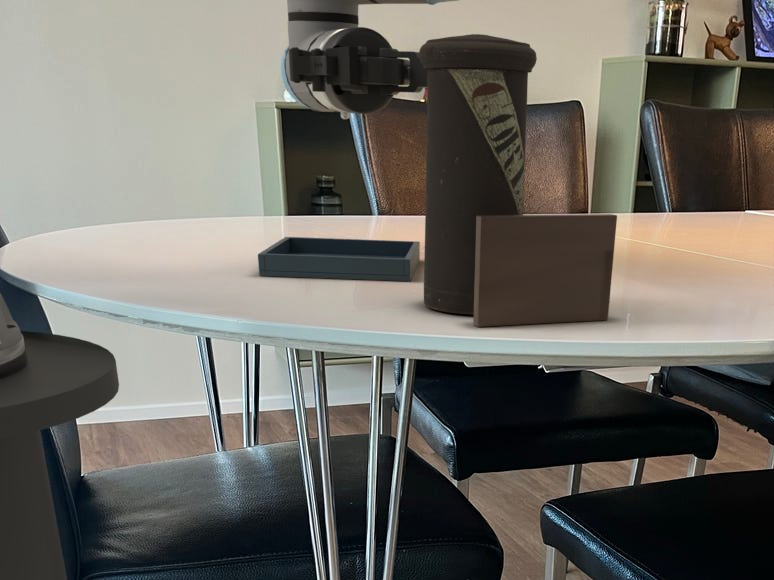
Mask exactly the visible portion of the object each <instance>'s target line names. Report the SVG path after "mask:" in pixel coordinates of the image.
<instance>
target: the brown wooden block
mask: <svg viewBox="0 0 774 580" xmlns="http://www.w3.org/2000/svg"><path fill="white" fill-rule="evenodd" d="M617 221H618V215H617V214H613V213H589V214H588V213H580V214H579V213H578V214H577V213H576V214H573V213H572V214H569V213H567V214H565V213H564V214H523V215H477V216H476V249H475V284H474V315H473V320H472V321H473V322H472V323H473V324H472V325H473V326H476V327H478V328H485V327H487V328H488V327H503V326H504V327H505V326H506V327H507V326H524V325H525V326H526V325H540V324H541V325H543V324H560V323H561V324H562V323H578V322H595V321H608V320H609V309H610V299H611V289H612V278H613V269H614V268H613V265H614V254H615V244H616V233H617V223H618V222H617Z"/></svg>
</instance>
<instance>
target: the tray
mask: <svg viewBox="0 0 774 580" xmlns="http://www.w3.org/2000/svg"><path fill="white" fill-rule="evenodd" d="M420 244H421V241H417V240H416V241H414V240H413V241H412V240H388V239H387V240H386V239H359V238H358V239H357V238H356V239H355V238H334V237H333V238H331V237H329V238H328V237H304V236H303V237H299V236H285V237H283V238H281V239H280V240H278V241H277V242H275V243H274V244H271V245H270V246H269V247H267V248H266V249H264V250H261V252H258V253H257V262H258V263H257V264H258V275H259V277H276V278H277V277H278V278H279V277H280V278H309V279H333V280H334V279H335V280H336V279H337V280H364V281H390V282H391V281H392V282H393V281H394V282H411V280H412V278H413V276H414V273H415V272H416V270H417V267H418V265H419V263H420V259H421V257H420V255H421V253H420V251H421V250H420V249H421V245H420Z"/></svg>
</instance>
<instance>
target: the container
mask: <svg viewBox="0 0 774 580" xmlns="http://www.w3.org/2000/svg"><path fill="white" fill-rule="evenodd" d="M418 52H419V58H420V61H421V63H422V64H423V66H424V69H428V84H427V88H426V90H427V92H426V94H427V95H426V96H427V97H426V101H427V102H426V107H427V108H426V111H427V112H426V114H427V115H426V153H425V154H426V157H425V160H426V161H425V162H426V163H425V164H426V165H425V215H424V217H425V218H424V219H425V220H424V257H423V258H424V262H423V264H424V265H423V303H424V304H423V305H424V306H425V307H426V308H429V309H430V310H435V311H437V312H443V313H450V314H459V315H471V316H472V315H473V316H474V284H475V249H476V216H477V215H524V204H525V181H526V179H525V178H526V170H525V169H526V138H527V137H526V135H527V111H528V88H529V87H528V83H529V82H528V81H529V79H528V78H529V73H532V72H533V69H534V68H535V66H536V64H537V60H538V59H537V53H536V51H535V49H533V48H532V47H531V45H530V43H527V42H521V41H517V40H514V39H509V38H504V37H498V36H493V35H488V34H480V33H476V34H475V33H471V34H465V35H454V36H446V37H440V38H432V39H428V40H426V42H425V43H423V44H422V45H421V47H420V48H419V51H418Z"/></svg>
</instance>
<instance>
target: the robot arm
mask: <svg viewBox="0 0 774 580" xmlns="http://www.w3.org/2000/svg"><path fill="white" fill-rule="evenodd" d="M457 1H459V0H286V5H287V6H286V7H287V20H288V21H287V34H288V35H287V36H288V39H287V40H288V45H287V46H286V48H285V50H284V52H283V55H282V58H281V63H280V70H281V78H282V82H283V84H284V87H285V89H286V91H287V92H288V94H289V95H290V96H291V98H293V100H294V101H295V102H296V103H298V104H299V105H301V106H302V107H305V108H307V109H310V110H312V111H314V112H324V113H328V112H329V113H340V118H341V119H342V120H348V119H350V117H351V114H355V115H356V114H358V115H371V114H374V113H377V112H379V111H381V110H382V109H384V108H385V107H386V106H387V105H388V104H389V103H390V102H391V101H392V99H393V97H394V96H397V95H398V94H400V93H416V94H417V93H421V92H422V91H423V89H427V84H428V69H424V66H423V64H422V63H421V61H420V58H419V51H408V50H407V51H405V50H401V51H399V50H398V49H397V48H393V46H392V45H391V44H390V42H389V40H387V39H386V37H385V36H383V35H382V34H381V33H380V32H378V31H377V30H374V29H372V28H368V27H365V26H359V25H360V24H359V5H361V6H363V5H431V6H434V5H436V4H439V3H446V2H447V3H448V2H449V3H450V2H457ZM20 331H21V329H20V327H19V325H18V323H17V322H16V321H15V320H14V319H13V316H12V314H11V312H10V310H9V307H8V305H7V303H6V301H5V299H4V297H3V295H2V293H1V292H0V379H1V378H4V377H7V376H10V375H12V374H14V373H16V372H18V371H20V370H21V369H22V368H24V367H25V366H26V364H27V355H26V350H25V344H24V339H23V335H22V334H21V332H20Z"/></svg>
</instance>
